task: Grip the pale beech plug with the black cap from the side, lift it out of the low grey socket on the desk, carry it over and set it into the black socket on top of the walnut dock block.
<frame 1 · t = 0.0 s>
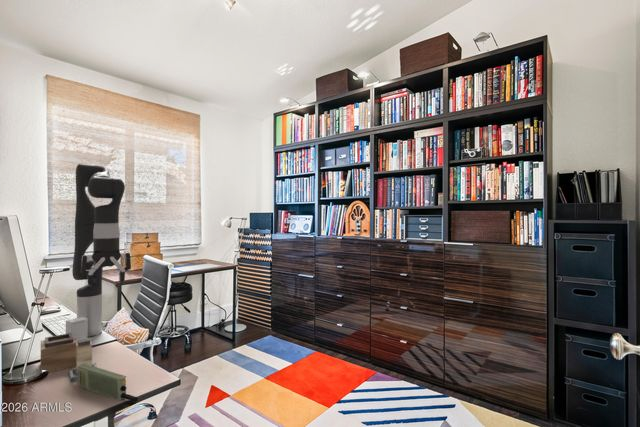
hand: (106, 284, 117), 29 cm above the table, tool pointing down, fingers open, 8 cm apart
walnut dock: (59, 364, 122), on the table
low socket: (84, 373, 115), on the table
skincare box: (76, 350, 134), on the table
handheld radio: (107, 394, 103), on the table
beech plug: (84, 357, 115), in the low socket
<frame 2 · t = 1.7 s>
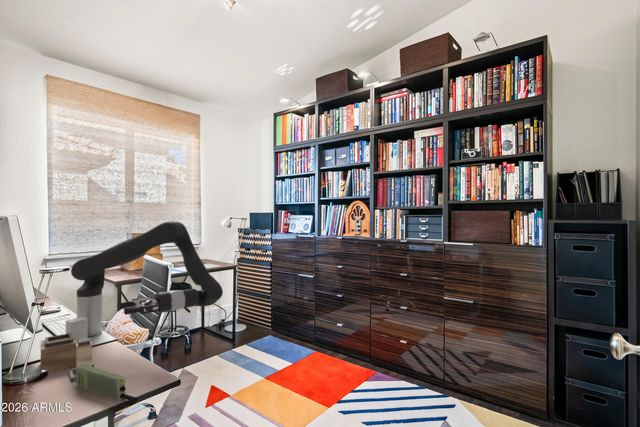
hand: (121, 308, 122), 20 cm above the table, tool horizontal, fingers open, 8 cm apart
nothing on the table moved.
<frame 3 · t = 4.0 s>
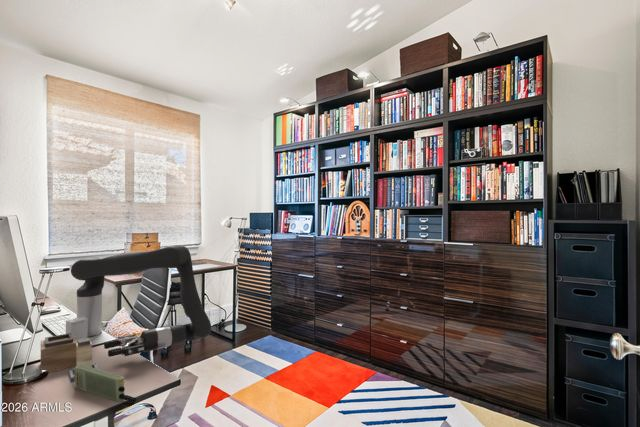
hand: (106, 349, 119), 6 cm above the table, tool horizontal, fingers open, 8 cm apart
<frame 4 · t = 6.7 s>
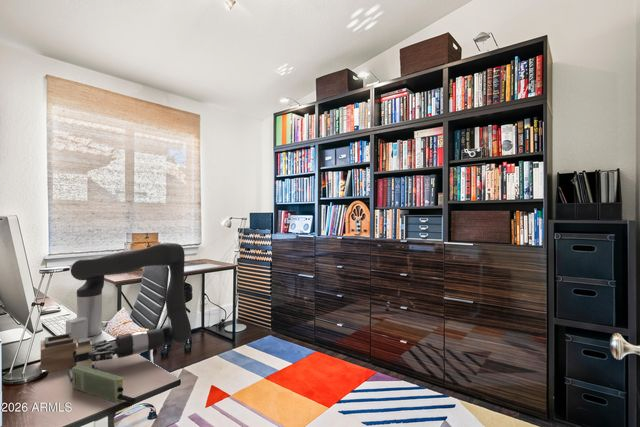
hand: (73, 356, 113), 7 cm above the table, tool horizontal, fingers closed on beech plug, 4 cm apart
beech plug: (84, 357, 115), in the low socket, touching gripper
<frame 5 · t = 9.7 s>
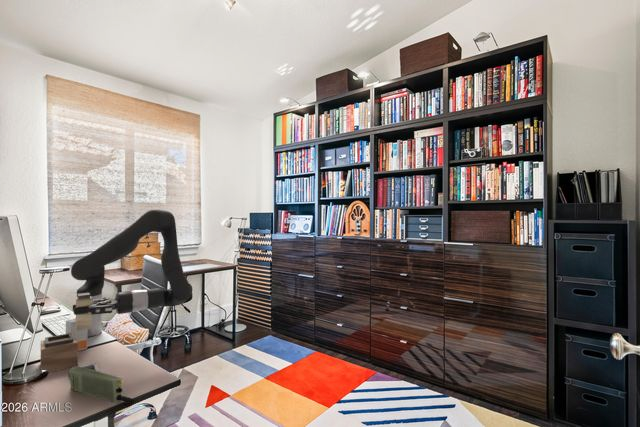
hand: (73, 309, 113), 22 cm above the table, tool horizontal, fingers closed on beech plug, 4 cm apart
beech plug: (83, 311, 115), point 21 cm above the table, touching gripper
when the fingers open (16 cm above the table, at t = 13.1 s): beech plug drops 1 cm, resting on walnut dock.
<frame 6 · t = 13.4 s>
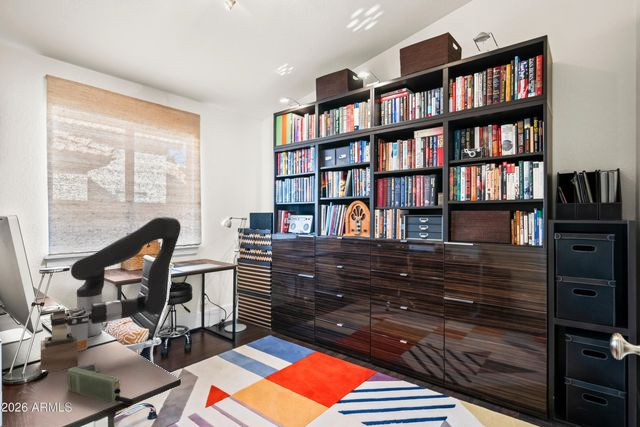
hand: (50, 320, 120), 16 cm above the table, tool horizontal, fingers open, 6 cm apart
beech plug: (59, 325, 122), in the walnut dock, point 14 cm above the table
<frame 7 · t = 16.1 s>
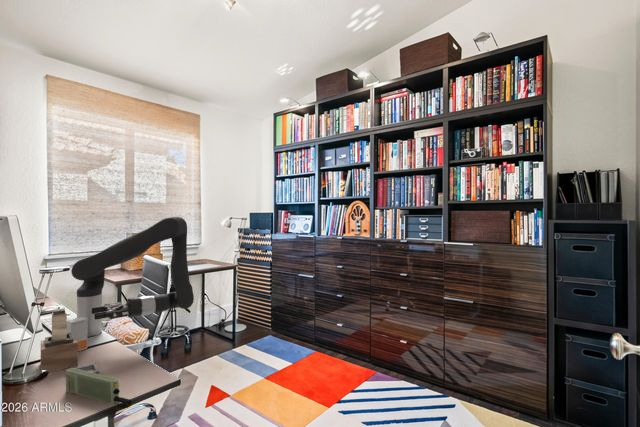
hand: (93, 313, 128), 16 cm above the table, tool horizontal, fingers open, 8 cm apart
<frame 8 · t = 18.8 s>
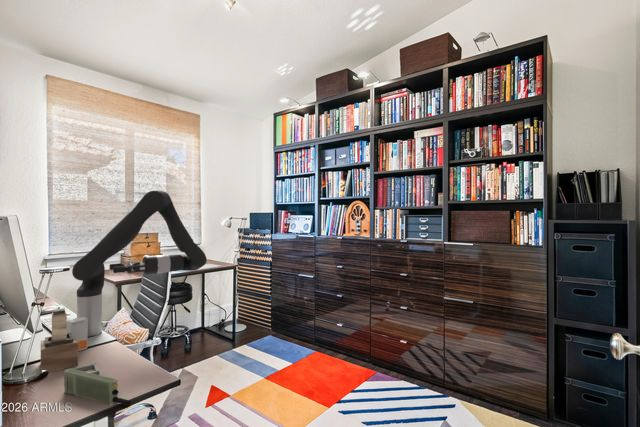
hand: (111, 268, 133), 32 cm above the table, tool horizontal, fingers open, 8 cm apart
at the end: beech plug 0.0 cm off-centre on the walnut dock, point 13.6 cm above the walnut dock's base; beech plug tilted 0°; the gripper is holding nothing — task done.
